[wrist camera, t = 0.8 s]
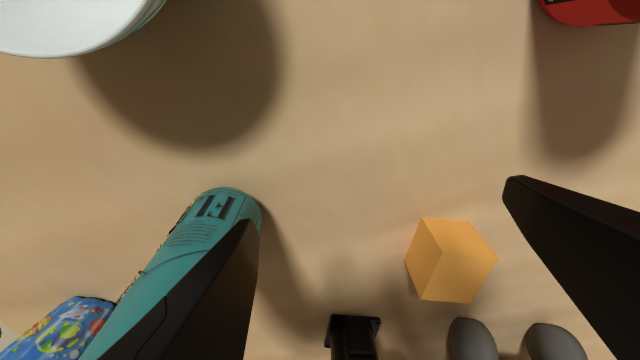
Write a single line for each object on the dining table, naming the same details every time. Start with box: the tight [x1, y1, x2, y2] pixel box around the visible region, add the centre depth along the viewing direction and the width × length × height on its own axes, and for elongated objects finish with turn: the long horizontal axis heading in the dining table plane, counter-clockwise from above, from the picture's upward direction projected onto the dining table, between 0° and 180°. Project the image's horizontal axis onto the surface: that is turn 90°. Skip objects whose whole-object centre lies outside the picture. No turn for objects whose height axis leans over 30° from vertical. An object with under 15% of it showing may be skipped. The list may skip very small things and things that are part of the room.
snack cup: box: [0, 296, 115, 360], centre depth 27 cm, size 16×10×10 cm
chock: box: [404, 217, 499, 304], centre depth 25 cm, size 6×5×5 cm
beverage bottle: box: [78, 187, 262, 360], centre depth 16 cm, size 6×7×20 cm
